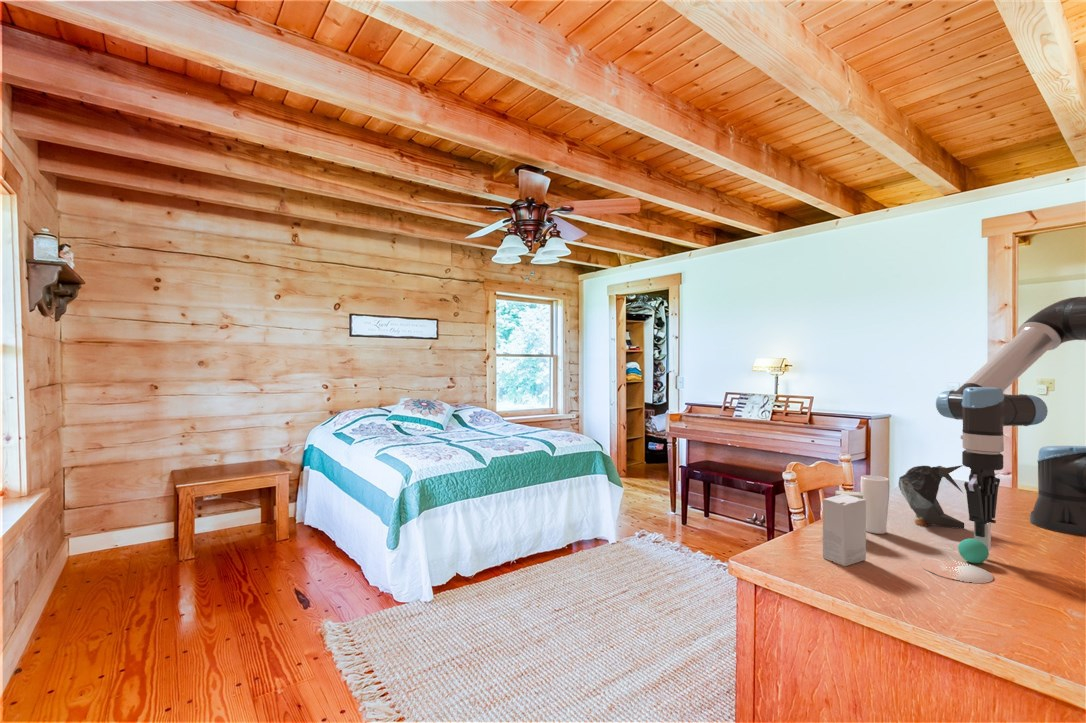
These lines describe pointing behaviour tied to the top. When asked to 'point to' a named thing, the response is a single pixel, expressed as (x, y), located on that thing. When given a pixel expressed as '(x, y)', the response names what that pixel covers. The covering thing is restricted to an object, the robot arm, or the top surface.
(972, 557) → the ball
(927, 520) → the bird figurine
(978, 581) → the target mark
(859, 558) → the skincare box
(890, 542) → the top surface
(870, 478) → the drinking glass
